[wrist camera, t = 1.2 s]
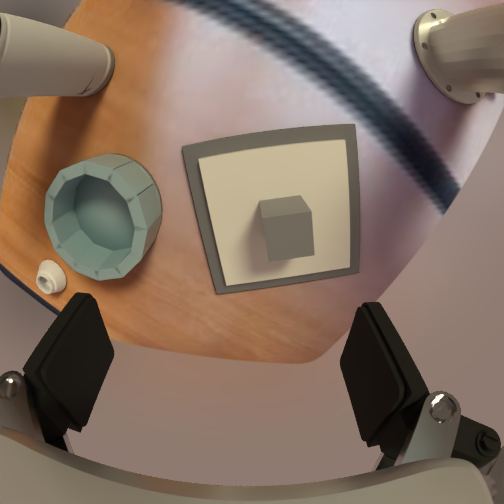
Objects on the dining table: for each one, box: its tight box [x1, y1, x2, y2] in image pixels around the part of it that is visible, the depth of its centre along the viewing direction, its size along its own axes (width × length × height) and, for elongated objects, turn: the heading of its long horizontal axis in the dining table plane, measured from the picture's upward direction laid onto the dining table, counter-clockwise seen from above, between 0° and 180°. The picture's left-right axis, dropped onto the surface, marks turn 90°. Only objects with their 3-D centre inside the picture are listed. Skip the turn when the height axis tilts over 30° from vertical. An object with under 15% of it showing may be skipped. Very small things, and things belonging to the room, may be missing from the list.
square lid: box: [198, 139, 350, 286], centre depth 25 cm, size 14×14×6 cm
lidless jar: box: [36, 260, 66, 294], centre depth 30 cm, size 5×3×5 cm
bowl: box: [44, 153, 162, 281], centre depth 25 cm, size 12×12×6 cm
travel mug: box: [0, 13, 115, 99], centre depth 12 cm, size 6×7×20 cm
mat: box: [182, 124, 360, 294], centre depth 28 cm, size 17×17×1 cm
